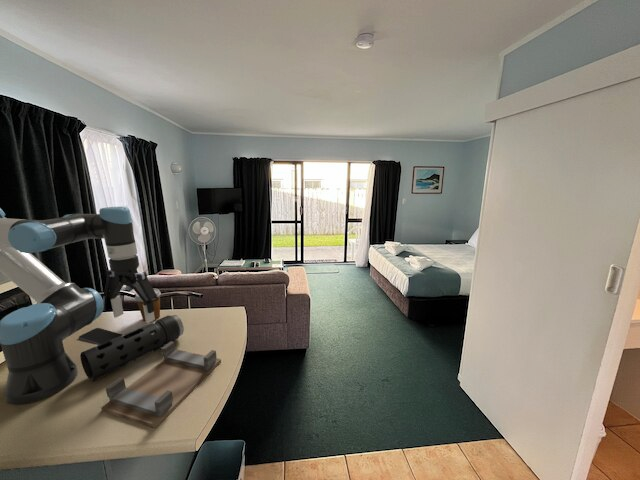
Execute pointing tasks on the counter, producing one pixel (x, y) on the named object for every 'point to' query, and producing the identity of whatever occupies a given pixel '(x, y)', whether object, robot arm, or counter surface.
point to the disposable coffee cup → (156, 303)
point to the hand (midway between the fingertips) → (134, 318)
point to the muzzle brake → (130, 346)
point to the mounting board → (160, 386)
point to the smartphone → (99, 336)
